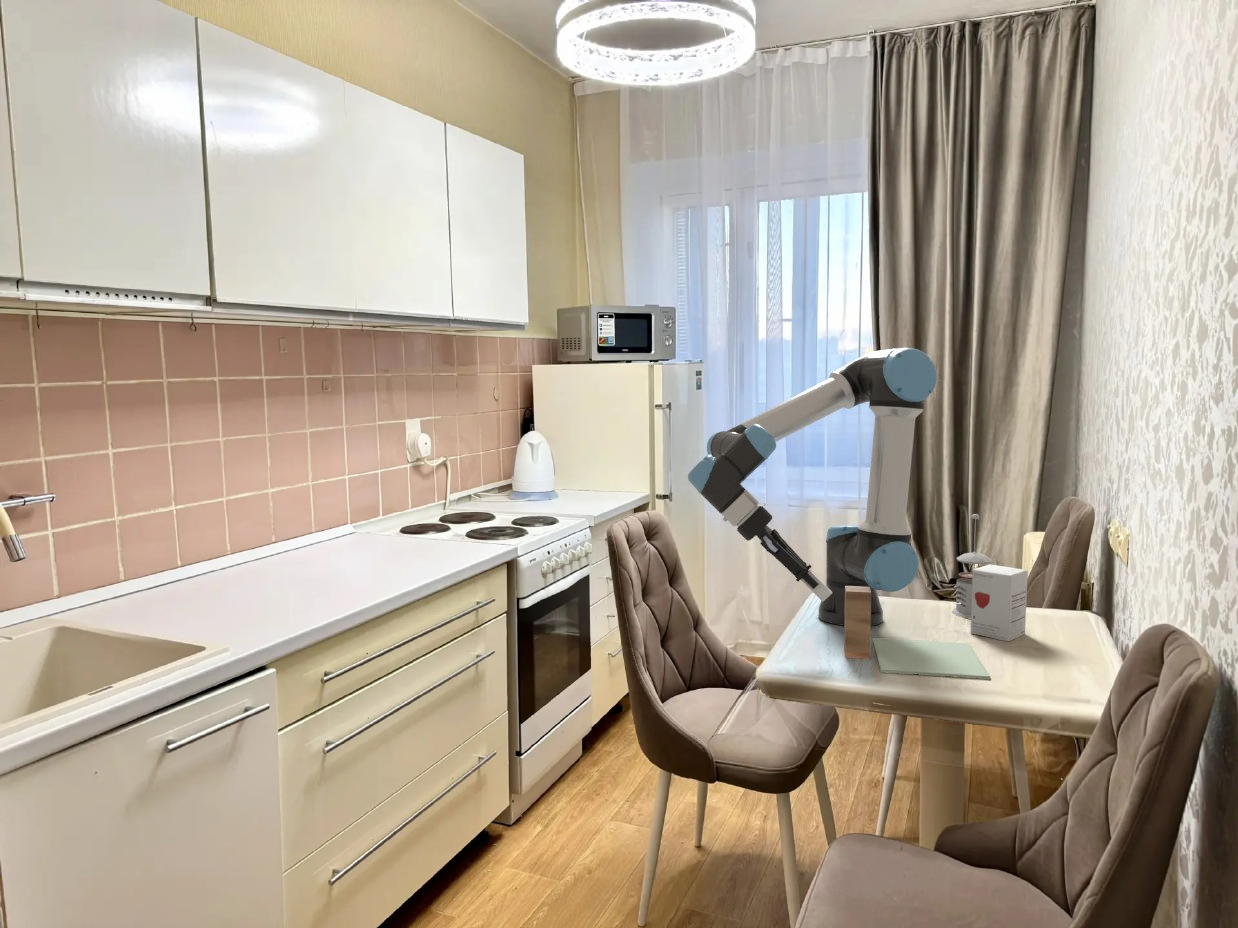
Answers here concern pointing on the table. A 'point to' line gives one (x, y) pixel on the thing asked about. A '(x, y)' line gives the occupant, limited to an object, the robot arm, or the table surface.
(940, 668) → the mat
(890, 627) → the table surface
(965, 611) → the french press
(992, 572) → the supplement box
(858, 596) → the walnut block
